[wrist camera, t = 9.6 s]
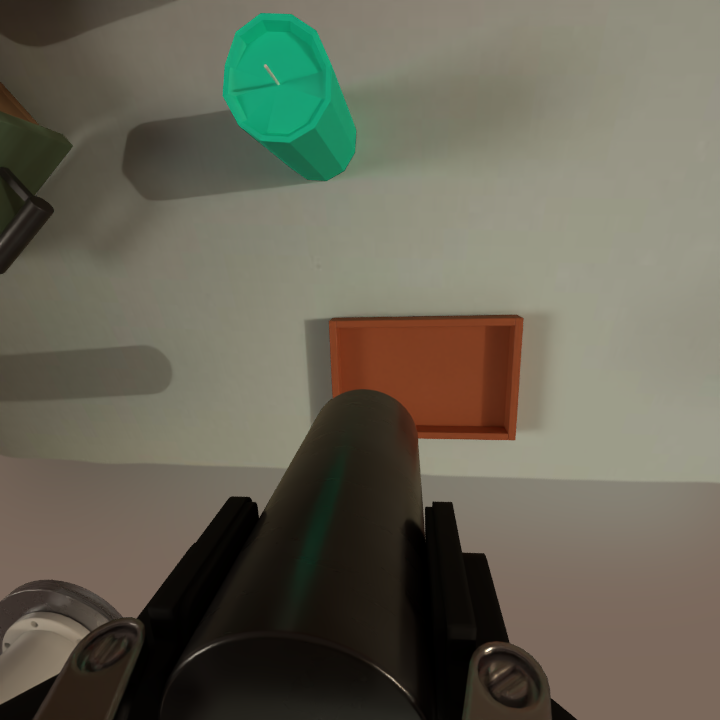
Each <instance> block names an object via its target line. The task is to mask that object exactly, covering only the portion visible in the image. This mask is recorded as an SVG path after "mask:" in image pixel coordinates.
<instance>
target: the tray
mask: <svg viewBox="0 0 720 720" xmlns="http://www.w3.org/2000/svg"><path fill="white" fill-rule="evenodd" d="M522 333H523V318H522V317H520V316H518V315H473V316H413V317H352V318H332V319H331V320H330V321H329V334H330V354H331V374H332V394H333V398H334V397H336V396H338V395H340V394H342V393H344V392H347V391H351V390H358V389H369V390H375V391H379V392H382V393H385V394H387V395H389V396H391V397H393V398H394V399H396V400H397V401H398V402H400V403H401V404H402V405H403V406H404V407H405V408H406V409H407V411H408V412H409V413H410V415H411V417H412V418H413V420H414V423H415V425H416V429H417V433H418V438H424V439H478V440H515V436H516V422H517V407H518V392H519V377H520V362H521V347H522Z"/></svg>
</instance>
